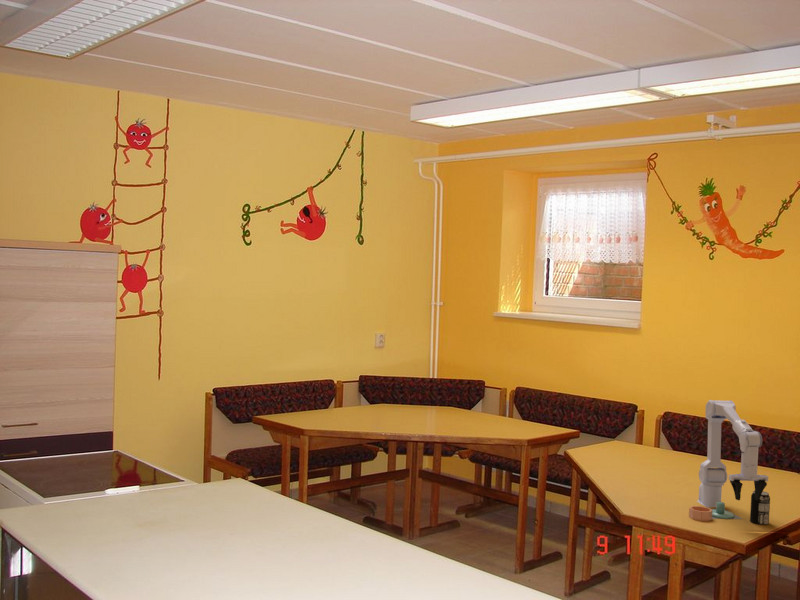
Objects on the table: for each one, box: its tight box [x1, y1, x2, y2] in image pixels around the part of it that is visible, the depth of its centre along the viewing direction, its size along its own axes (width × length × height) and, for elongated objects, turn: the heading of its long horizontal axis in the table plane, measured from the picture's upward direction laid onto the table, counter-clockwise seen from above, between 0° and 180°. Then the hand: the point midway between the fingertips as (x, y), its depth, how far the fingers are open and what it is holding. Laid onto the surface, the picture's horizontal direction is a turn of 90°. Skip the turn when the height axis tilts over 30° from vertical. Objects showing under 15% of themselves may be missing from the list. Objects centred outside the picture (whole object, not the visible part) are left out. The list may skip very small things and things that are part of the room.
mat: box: [712, 509, 743, 520], centre depth 320 cm, size 13×12×1 cm
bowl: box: [688, 505, 713, 522], centre depth 313 cm, size 8×8×4 cm
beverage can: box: [749, 490, 771, 526], centre depth 310 cm, size 7×7×12 cm
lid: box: [710, 501, 734, 520], centre depth 318 cm, size 10×10×5 cm
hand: (747, 499), depth 306 cm, fingers open, 7 cm apart
